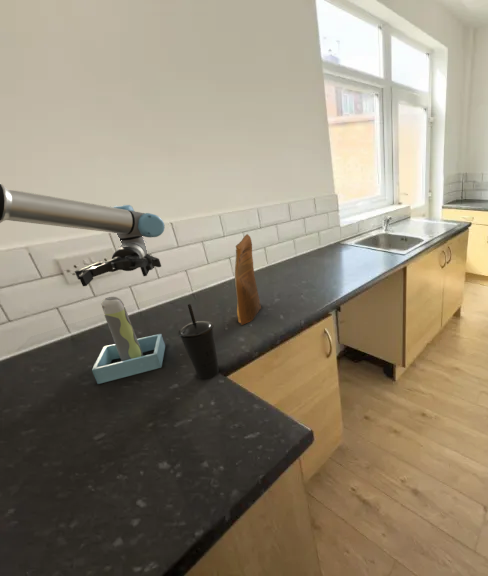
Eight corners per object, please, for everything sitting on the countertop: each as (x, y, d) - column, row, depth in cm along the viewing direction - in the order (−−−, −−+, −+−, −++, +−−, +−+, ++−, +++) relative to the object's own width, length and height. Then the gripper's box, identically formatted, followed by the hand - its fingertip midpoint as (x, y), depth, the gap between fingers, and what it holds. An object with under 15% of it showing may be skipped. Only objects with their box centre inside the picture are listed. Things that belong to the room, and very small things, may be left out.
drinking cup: (184, 381, 81) (162, 310, 73) (207, 363, 87) (188, 297, 80) (210, 385, 79) (189, 313, 71) (231, 367, 86) (214, 299, 78)
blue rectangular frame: (98, 384, 80) (91, 370, 79) (109, 359, 91) (103, 346, 89) (161, 368, 86) (156, 353, 85) (165, 346, 97) (161, 333, 95)
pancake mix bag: (269, 303, 124) (256, 232, 114) (253, 327, 106) (236, 245, 96) (251, 304, 124) (237, 233, 113) (232, 328, 106) (213, 246, 96)
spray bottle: (119, 367, 87) (92, 301, 79) (137, 357, 91) (113, 293, 84) (132, 370, 86) (106, 303, 78) (149, 360, 90) (126, 295, 82)
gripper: (175, 261, 112) (170, 279, 95) (85, 275, 102) (61, 299, 84) (169, 240, 109) (162, 255, 92) (75, 252, 99) (48, 272, 81)
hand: (114, 276), depth 88 cm, fingers open, 13 cm apart
